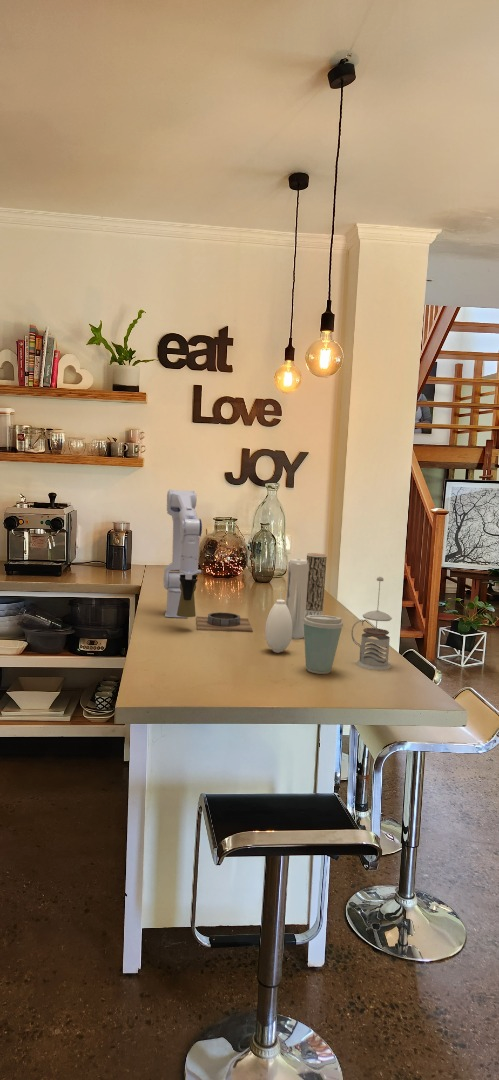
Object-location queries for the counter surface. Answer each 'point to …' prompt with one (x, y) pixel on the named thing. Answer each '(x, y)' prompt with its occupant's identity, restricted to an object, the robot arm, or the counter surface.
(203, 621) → the walnut mat
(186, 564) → the robot arm
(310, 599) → the grey patterned cylinder
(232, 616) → the collar
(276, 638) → the white vase
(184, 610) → the cork
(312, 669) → the disposable coffee cup
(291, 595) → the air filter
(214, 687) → the counter surface
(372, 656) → the french press
